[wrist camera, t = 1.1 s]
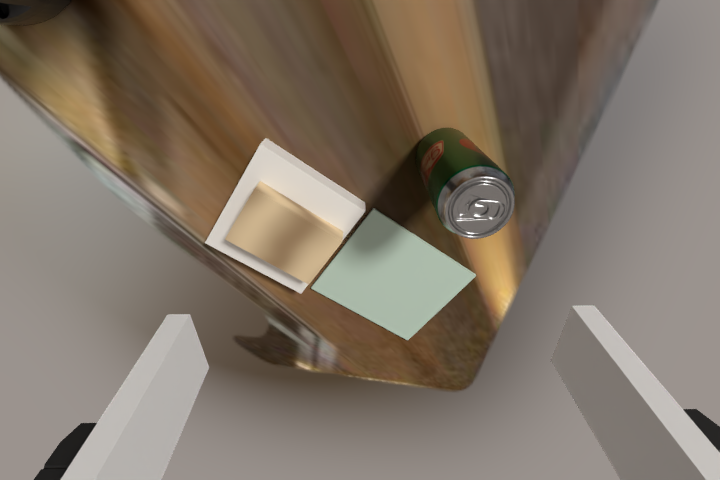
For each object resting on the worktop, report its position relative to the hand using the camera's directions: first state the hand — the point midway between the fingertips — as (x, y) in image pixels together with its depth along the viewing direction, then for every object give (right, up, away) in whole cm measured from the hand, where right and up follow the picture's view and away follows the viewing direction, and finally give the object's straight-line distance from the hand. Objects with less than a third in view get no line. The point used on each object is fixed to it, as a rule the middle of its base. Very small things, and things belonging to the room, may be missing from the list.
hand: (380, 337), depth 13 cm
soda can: (+7, +11, +20) cm, 24 cm away
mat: (+3, -1, +27) cm, 27 cm away
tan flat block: (-8, +4, +22) cm, 23 cm away
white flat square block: (-8, +6, +23) cm, 25 cm away
